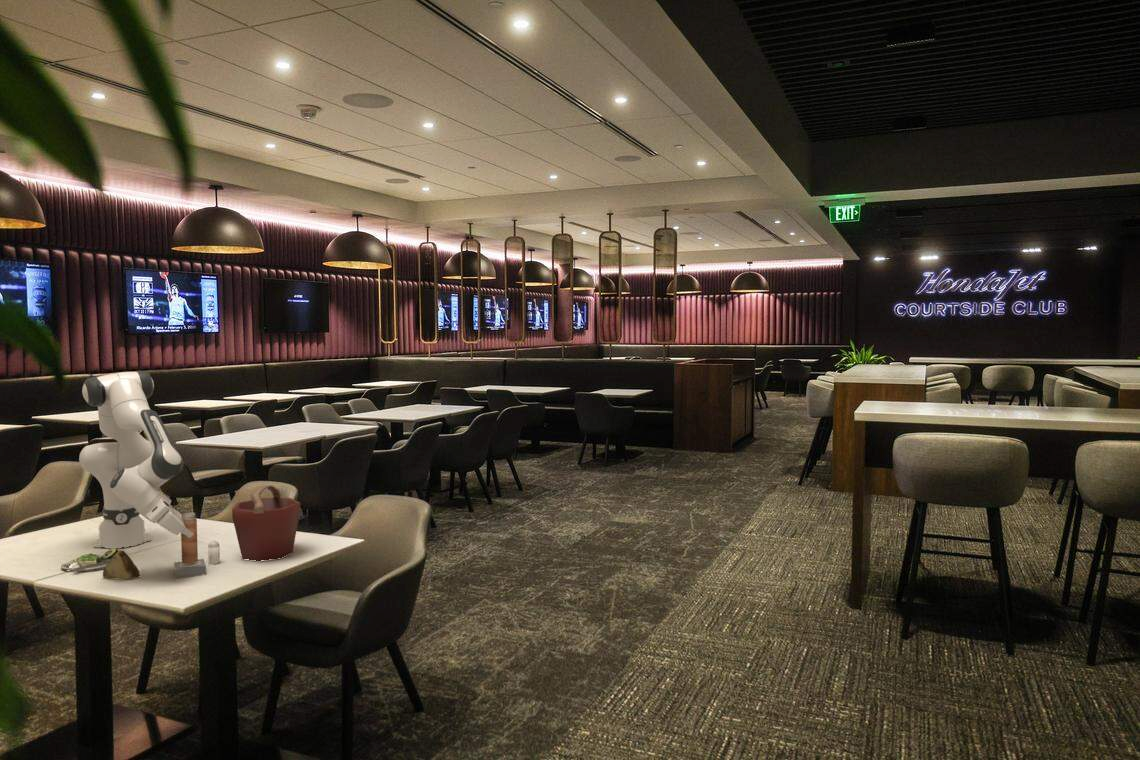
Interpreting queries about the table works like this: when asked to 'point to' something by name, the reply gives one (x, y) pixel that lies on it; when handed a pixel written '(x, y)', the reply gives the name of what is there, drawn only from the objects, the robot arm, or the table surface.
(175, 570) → the plinth
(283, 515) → the bucket
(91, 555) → the plate of avocado toast
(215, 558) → the salt shaker
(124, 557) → the rock
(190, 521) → the pepper mill
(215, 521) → the table surface
